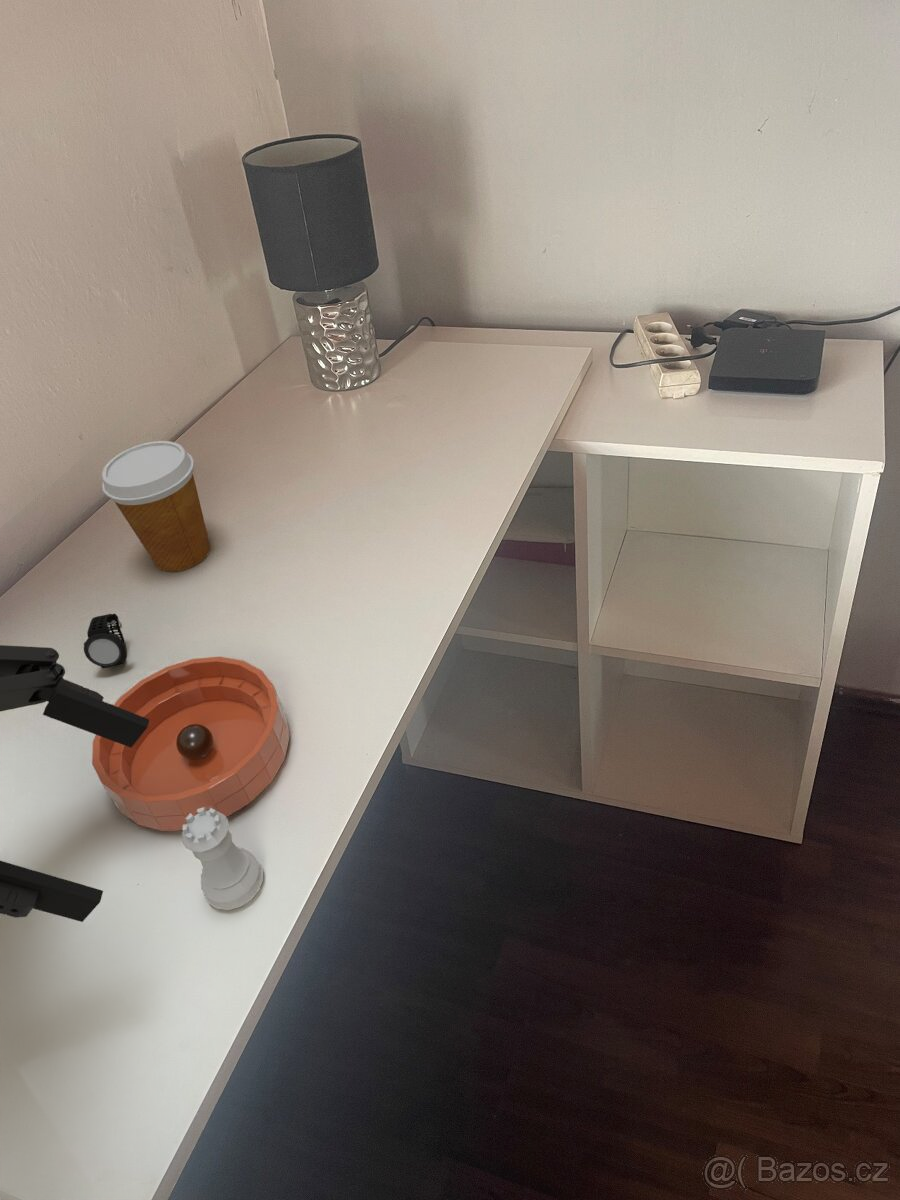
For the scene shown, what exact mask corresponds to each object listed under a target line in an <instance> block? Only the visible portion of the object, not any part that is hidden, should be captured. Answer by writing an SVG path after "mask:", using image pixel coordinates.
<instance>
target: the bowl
mask: <svg viewBox="0 0 900 1200" xmlns="http://www.w3.org/2000/svg"><path fill="white" fill-rule="evenodd" d="M113 705H114V706H116V707H119V708H121V709H124V710H127V711H129V712H132V713H134V714H137V715H139V716H142V717H144V718H147V719H150V720H149V724H148V727H147V729H146V730H145V731H144V732H143V734H142V735H141V736H140V738H139V739H138V740H137V741H136V743H135V744H134V745H133V746H132V748H131V747H128V746H125V745H123V744H120V743H117V742H114V741H112V740H109V739H106V738H104V737H101V736H98V735H96V734H94V735H95V736H94V738H93V740H92V754H91V755H92V759H91V763H92V766H93V769H94V772H95V773H96V775H97V777H98V779H99V781H100V783H101V785H102V787H103V788H104V790H105V791H106V793H107V794H108V795H109V796H110V798H111V800H112V801H113V803H114V804H115V806H116V808H117V809H118V811H119V812H120V813H122V814H123V815H124V816H125V817H126V818H128V819H130V821H132V822H134V823H135V824H136V825H138V826H141V827H145V828H150V829H154V830H157V831H162V832H173V831H183V825H185V824H187V823H188V822H187V820H186V817H187V816H188V815H189V814H190V813H191V814H192V815H193V817H194V816H195V815H197V814H198V811H197V809H200V808H203V807H204V808H205V810H206V811H209V809H210V808H212V809H214V810H216V811H218V812H220V813H222V814H224V815H225V816H226V818H227V817H230V816H231V815H233V814H234V813H236V812H238V811H240V810H241V809H242V808H244V807H246V806H247V805H248V804H250V803H252V802H253V801H254V800H255V799H256V797H257V796H259V795H260V794H261V793H262V792H263V791H264V790H265V789H266V788H267V787H268V786H269V785H270V784H271V783H272V781H273V780H274V778H275V777H276V775H277V773H278V772H279V770H280V768H281V766H282V764H283V763H284V761H285V760H286V756H287V751H288V746H289V742H290V730H289V724H288V720H287V715H286V713H285V711H284V708H283V704H282V702H281V700H280V697H279V695H278V693H277V690H276V687H275V685H274V683H272V681H271V680H270V678H269V677H268V676H267V675H266V674H265V673H264V671H263V670H262V669H260V668H258V667H256V666H254V665H252V664H250V663H249V662H247V661H245V660H242V659H236V658H230V657H225V656H209V657H198V658H197V657H196V658H192V659H188V660H185V661H181V662H177V663H174V664H172V665H168V666H165V667H164V668H162V669H160V670H158V671H156V672H154V673H152V674H150V675H148V676H146V677H145V678H142V679H141V680H139V681H138V682H136V683H135V684H134V685H133V686H132V687H131V688H129V689H128V690H127V691H126V692H125V693H123V694H122V695H121V696H120V697H118V699H117V700H116V701H115V702H114V704H113ZM191 724H200V725H203V726H205V727H206V728H208V729H209V730H210V732H211V733H212V735H213V740H214V742H213V747H212V750H211V751H210V753H209V754H208V755H207V756H206V757H204V758H202V759H200V760H188V759H186V758H184V757H183V756H182V755H181V754H180V753H179V752H178V750H177V746H176V740H177V736H178V734H179V733H180V731H181V730H182V729H183V728H185V727H186V726H188V725H191Z"/></svg>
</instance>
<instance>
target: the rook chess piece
mask: <svg viewBox="0 0 900 1200" xmlns="http://www.w3.org/2000/svg"><path fill="white" fill-rule="evenodd" d="M197 811H198V814H197V815H195V816H194V817H193V815H192V814H191V813H190V814H189V815H188V816H187V817H186V820H187V822H188V823H187V824H185V825H183V830H182V832H181V842H182V844H183V846H184V847H185V849H187V850H189V851H190V852H192V854H193V856H194V857H195V858H196V859H198V860H199V861H200V863H201V866H202V869H201V874H200V888H201V890H202V893H203V896H204V897H205V899H206V902H207V903H208V904H209V905H211V906H212V907H214V909H216V910H226V911H229V910H234V909H236V908H240V907H243V906H244V905H246V904H247V903H249V902H250V901H251V900H253V898H254V897H255V896H256V894H258V892H259V891H260V890H261V887H262V883H263V881H264V869H263V867H262V864H260V862H259V860H258V859H257V858H256V856H255V854H253V853H252V852H251V851H249V850H247V849H245V848H241V847H240V846H237V845H236V844H235V843H234V842H233V835H232V832H231V831H230V830H229V829H230V828H229V827H230V826H229V820H228V818H227V817H226V816H225V815H224V814H222V813H220V812H218V811H216V810H214V809H212V808H210V809H209V811H206V810H205V808H204V807H203V808H200V809H197Z"/></svg>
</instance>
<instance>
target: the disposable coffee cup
mask: <svg viewBox="0 0 900 1200" xmlns="http://www.w3.org/2000/svg"><path fill="white" fill-rule="evenodd" d="M194 466H195V462H194V457H193V456H192V455H191V454H190V453H188V452H187V451H186V450H185V448H184V447H183V446H182V445H181V444H179V443H177V442H174V441H169V440H156V441H148V442H144V443H141V444H137V445H133V446H132V447H130V448H127V449H125V450H123V451H121V452H120V453H118V454H116V455H115V456H113V457H112V458H111V459H110V460H109V461H108V462H106V464H105V466H104V467H103V469H102V472H101V479H102V483H101V489H102V491H103V493H104V495H105V496H106V497H108V498H109V499H110V500H111V501H113V502H114V503H115V505H116V506H117V508H118V509H119V511H120V513H121V514H122V516H123V517H124V518H125V520H126V522H127V523H128V525H129V526H130V528H131V529H132V531H133V533H134V534H135V536H136V538H137V539H138V540H139V543H141V545H142V547H143V548H144V550H145V551H146V552H147V554H148V555H149V557H150V559H151V560H152V562H153V563H154V565H155V566H156V567H157V568H158V570H161V571H162V572H163V571H164V572H170V573H171V572H172V573H173V572H174V573H175V572H180V571H181V572H182V571H186V570H189V569H191V568H193V567H195V566H196V565H198V564H200V563H201V562H203V561H204V560H205V559H206V557H207V556H208V555H209V553H210V551H211V543H210V540H209V539H210V538H209V535H208V530H207V526H206V522H205V519H204V514H203V510H202V505H201V501H200V497H199V493H198V489H197V485H196V481H195V476H194Z"/></svg>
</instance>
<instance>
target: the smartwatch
mask: <svg viewBox="0 0 900 1200" xmlns="http://www.w3.org/2000/svg"><path fill="white" fill-rule="evenodd" d="M122 628H123V623H122V622H121V621H120V619H119V616H118V615H117V614H116V613H107V614H102V615H98V616H95V617H92V618H91V619H90V622H89V626H88V629H87V633H86V634H87V639H85V641H84V642H83V653H84V655H85V657H86V659H87V660H88V661H89V662H90V663H92V664H93V665H95V666H98V667H101V669H109V668H110V669H111V668H114V667H120V666H123V665H124V664H125V663H126V660H127V646H126V642H125V637H124V634H123V632H122Z"/></svg>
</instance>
